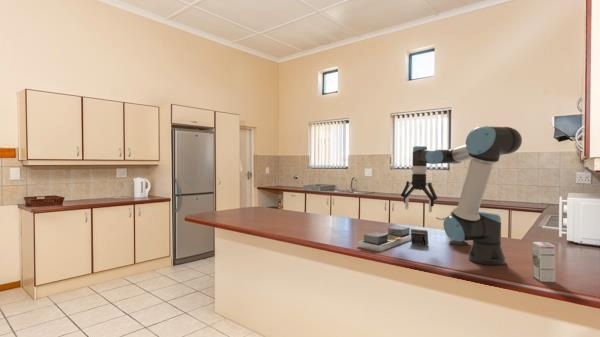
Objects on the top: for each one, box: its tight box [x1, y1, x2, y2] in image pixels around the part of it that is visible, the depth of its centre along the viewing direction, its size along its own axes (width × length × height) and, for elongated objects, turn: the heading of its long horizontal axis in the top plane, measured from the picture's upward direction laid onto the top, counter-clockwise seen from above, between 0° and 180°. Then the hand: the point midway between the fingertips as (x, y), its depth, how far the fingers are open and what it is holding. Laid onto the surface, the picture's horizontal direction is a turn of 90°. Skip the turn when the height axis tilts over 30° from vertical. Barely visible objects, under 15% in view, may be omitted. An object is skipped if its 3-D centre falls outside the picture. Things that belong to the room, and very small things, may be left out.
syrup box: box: [532, 241, 556, 283], centre depth 132 cm, size 6×6×14 cm
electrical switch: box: [410, 228, 430, 248], centre depth 187 cm, size 9×5×9 cm, turn 57°
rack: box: [357, 225, 411, 252], centre depth 193 cm, size 14×40×7 cm, turn 135°
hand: (418, 210), depth 187 cm, fingers open, 13 cm apart
